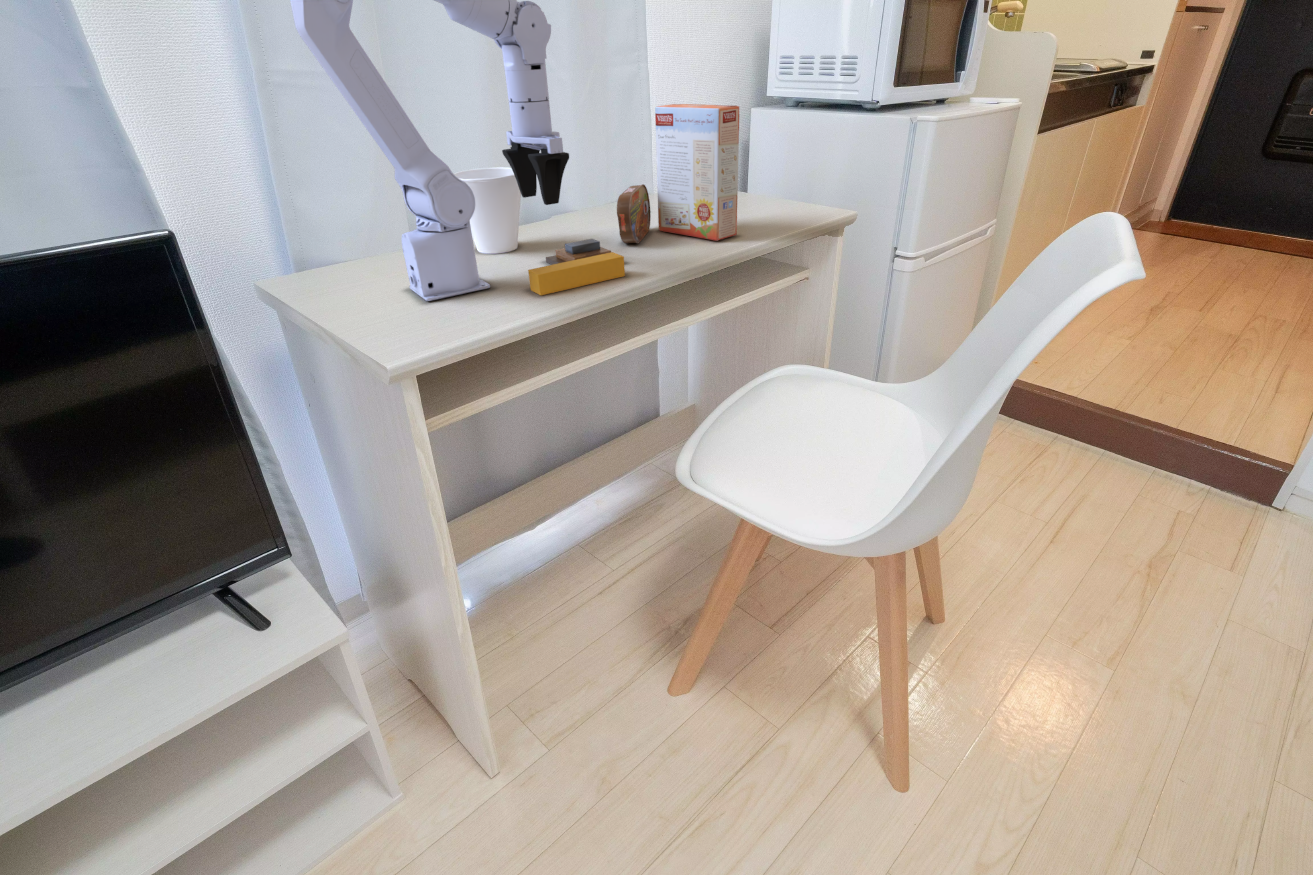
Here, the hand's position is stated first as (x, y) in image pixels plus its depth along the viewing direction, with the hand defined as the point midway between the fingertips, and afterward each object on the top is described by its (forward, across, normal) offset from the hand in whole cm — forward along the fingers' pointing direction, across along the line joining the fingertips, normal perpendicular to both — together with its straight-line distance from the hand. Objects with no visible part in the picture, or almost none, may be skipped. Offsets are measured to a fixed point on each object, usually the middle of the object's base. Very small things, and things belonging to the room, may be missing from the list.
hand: (540, 200), depth 106 cm
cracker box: (+10, 0, -30) cm, 32 cm away
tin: (+10, +5, -20) cm, 23 cm away
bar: (+10, -12, +1) cm, 16 cm away
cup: (+10, +15, +2) cm, 18 cm away
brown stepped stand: (+10, -3, -5) cm, 11 cm away
